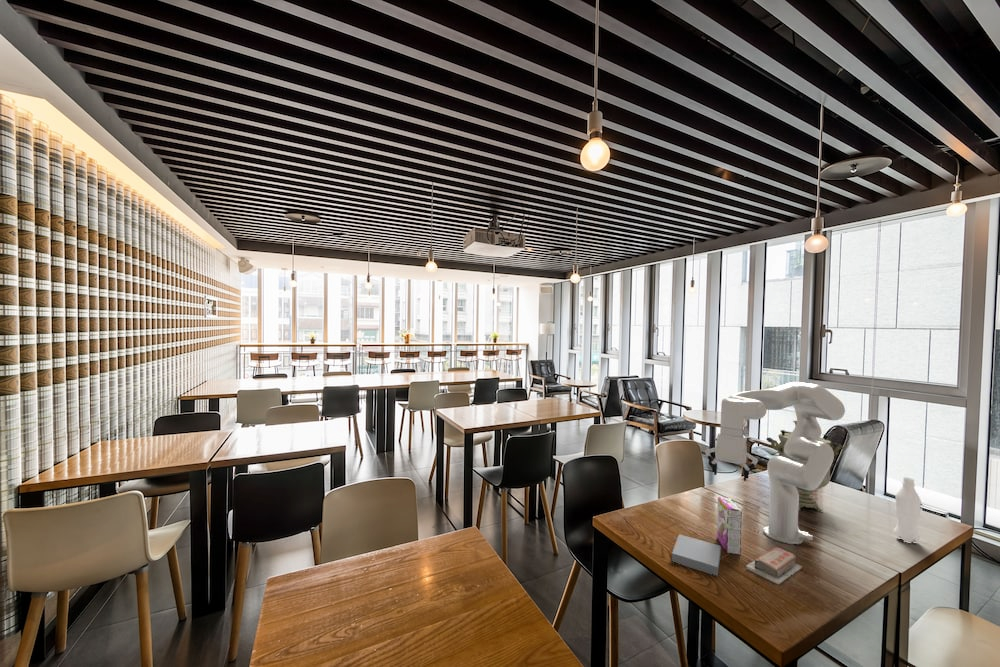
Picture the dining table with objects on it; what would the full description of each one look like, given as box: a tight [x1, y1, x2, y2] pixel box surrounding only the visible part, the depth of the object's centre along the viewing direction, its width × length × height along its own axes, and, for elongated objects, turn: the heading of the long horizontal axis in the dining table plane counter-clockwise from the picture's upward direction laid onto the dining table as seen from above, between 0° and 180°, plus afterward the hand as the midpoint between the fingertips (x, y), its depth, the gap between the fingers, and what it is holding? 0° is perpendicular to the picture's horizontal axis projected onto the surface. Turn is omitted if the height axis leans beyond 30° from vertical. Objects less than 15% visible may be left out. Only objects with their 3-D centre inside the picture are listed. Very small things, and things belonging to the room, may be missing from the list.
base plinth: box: [671, 533, 722, 577], centre depth 139 cm, size 14×16×3 cm
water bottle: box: [893, 476, 922, 543], centre depth 157 cm, size 7×7×25 cm
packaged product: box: [745, 546, 803, 585], centre depth 134 cm, size 18×5×10 cm
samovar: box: [765, 420, 845, 512], centre depth 185 cm, size 30×26×40 cm
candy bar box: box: [716, 496, 743, 556], centre depth 148 cm, size 11×5×16 cm, turn 168°
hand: (729, 477), depth 148 cm, fingers open, 9 cm apart
